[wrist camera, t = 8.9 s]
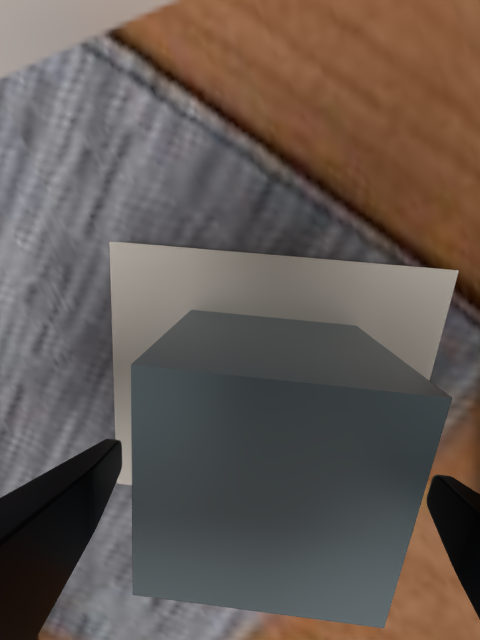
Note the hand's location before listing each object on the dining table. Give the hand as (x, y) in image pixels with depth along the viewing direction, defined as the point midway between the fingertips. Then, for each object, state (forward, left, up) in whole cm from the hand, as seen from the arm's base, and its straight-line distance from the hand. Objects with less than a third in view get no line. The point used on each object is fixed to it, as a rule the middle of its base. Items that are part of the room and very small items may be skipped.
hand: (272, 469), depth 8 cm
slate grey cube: (0, 0, -5) cm, 5 cm away
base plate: (0, 0, -6) cm, 6 cm away
